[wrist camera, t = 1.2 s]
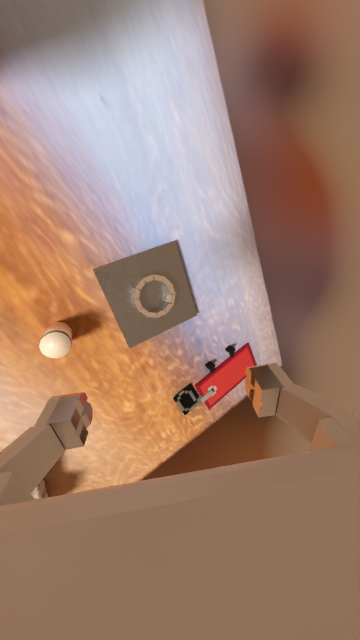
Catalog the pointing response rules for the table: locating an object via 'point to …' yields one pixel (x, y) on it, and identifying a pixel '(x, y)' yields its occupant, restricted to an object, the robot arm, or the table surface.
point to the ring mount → (147, 292)
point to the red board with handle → (217, 380)
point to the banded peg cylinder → (56, 340)
